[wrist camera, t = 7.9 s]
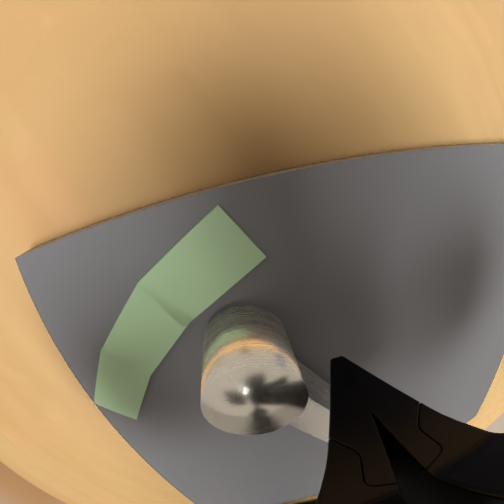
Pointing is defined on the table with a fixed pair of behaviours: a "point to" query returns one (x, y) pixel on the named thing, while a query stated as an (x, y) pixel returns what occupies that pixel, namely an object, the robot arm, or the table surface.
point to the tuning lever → (258, 378)
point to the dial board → (284, 302)
